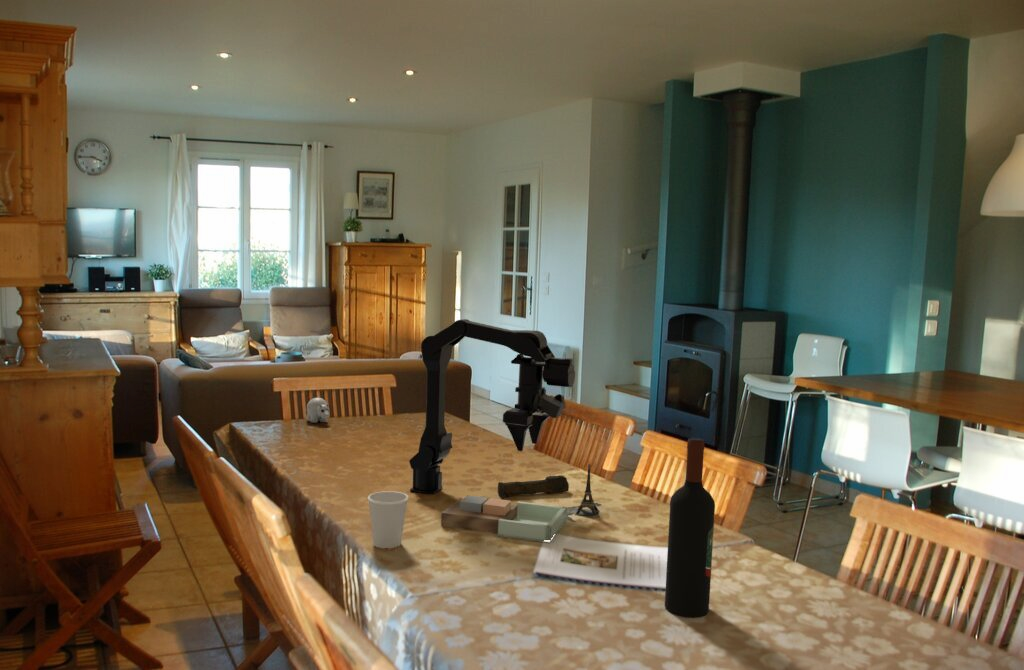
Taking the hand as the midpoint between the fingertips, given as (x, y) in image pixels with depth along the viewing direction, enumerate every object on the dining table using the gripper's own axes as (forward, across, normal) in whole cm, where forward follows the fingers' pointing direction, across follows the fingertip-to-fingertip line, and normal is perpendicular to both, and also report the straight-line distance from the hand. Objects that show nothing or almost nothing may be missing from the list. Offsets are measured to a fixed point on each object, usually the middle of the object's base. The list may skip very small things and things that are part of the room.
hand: (527, 447), depth 206 cm
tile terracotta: (+11, -17, 0) cm, 21 cm away
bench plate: (+14, -18, +4) cm, 23 cm away
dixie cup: (+14, -40, +14) cm, 45 cm away
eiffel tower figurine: (+15, +1, -15) cm, 21 cm away
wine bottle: (+14, -44, -48) cm, 66 cm away
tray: (+14, -16, -9) cm, 23 cm away
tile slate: (+11, -18, +5) cm, 22 cm away
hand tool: (+15, +10, +2) cm, 17 cm away
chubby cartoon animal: (+16, +53, +98) cm, 113 cm away
